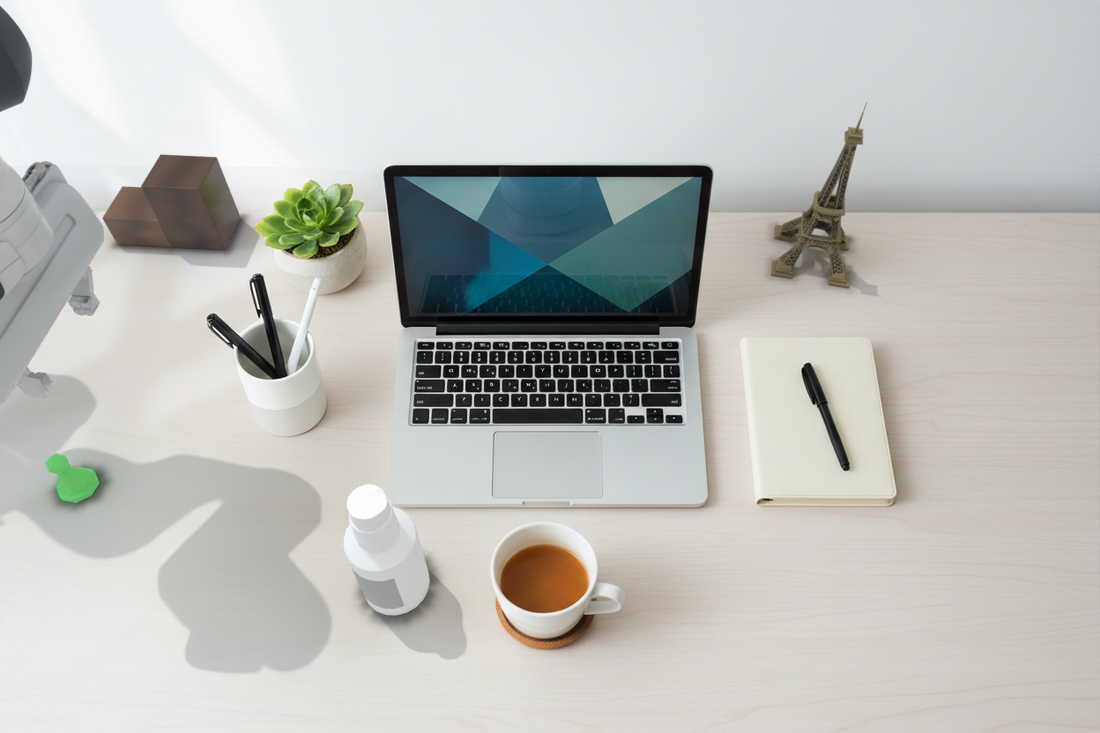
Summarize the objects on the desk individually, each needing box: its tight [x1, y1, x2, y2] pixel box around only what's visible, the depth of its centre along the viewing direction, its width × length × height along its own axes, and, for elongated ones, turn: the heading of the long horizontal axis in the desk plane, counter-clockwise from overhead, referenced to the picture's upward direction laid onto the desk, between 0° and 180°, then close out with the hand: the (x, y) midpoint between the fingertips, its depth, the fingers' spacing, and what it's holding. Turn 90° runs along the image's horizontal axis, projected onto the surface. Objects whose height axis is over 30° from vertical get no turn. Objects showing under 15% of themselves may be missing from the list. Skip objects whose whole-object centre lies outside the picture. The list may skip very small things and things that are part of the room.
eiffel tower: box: [770, 101, 868, 289], centre depth 102 cm, size 11×11×25 cm
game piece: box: [44, 452, 100, 504], centre depth 86 cm, size 4×4×6 cm
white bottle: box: [342, 484, 431, 616], centre depth 74 cm, size 7×7×18 cm
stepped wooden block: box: [102, 154, 242, 251], centre depth 110 cm, size 16×7×11 cm, turn 86°
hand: (66, 348), depth 70 cm, fingers open, 8 cm apart
